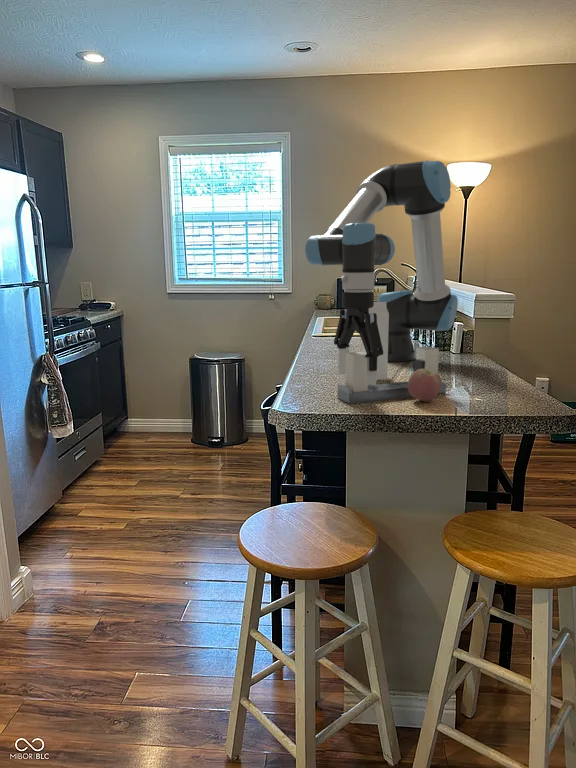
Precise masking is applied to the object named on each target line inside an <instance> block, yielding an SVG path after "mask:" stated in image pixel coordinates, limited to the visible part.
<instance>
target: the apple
mask: <svg viewBox="0 0 576 768" xmlns="http://www.w3.org/2000/svg"><path fill="white" fill-rule="evenodd" d="M407 382H408V391H409V393H410V395H411V396H413V397H412V398H416V399H418V400H419V401H421V402H424V403H428V402H431V401H433V400H435V398H436V397H437V396H438V395H439V394H438V393H439V391H440V389H441V382H442V379H441V377H440V375H439V373H438V374H437V373H435V372H433V371H431V370H428V369H418V370H416V371H415V372H414V371H413V372H412V373H411V375H410V376H409V379H408V381H407Z"/></svg>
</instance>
